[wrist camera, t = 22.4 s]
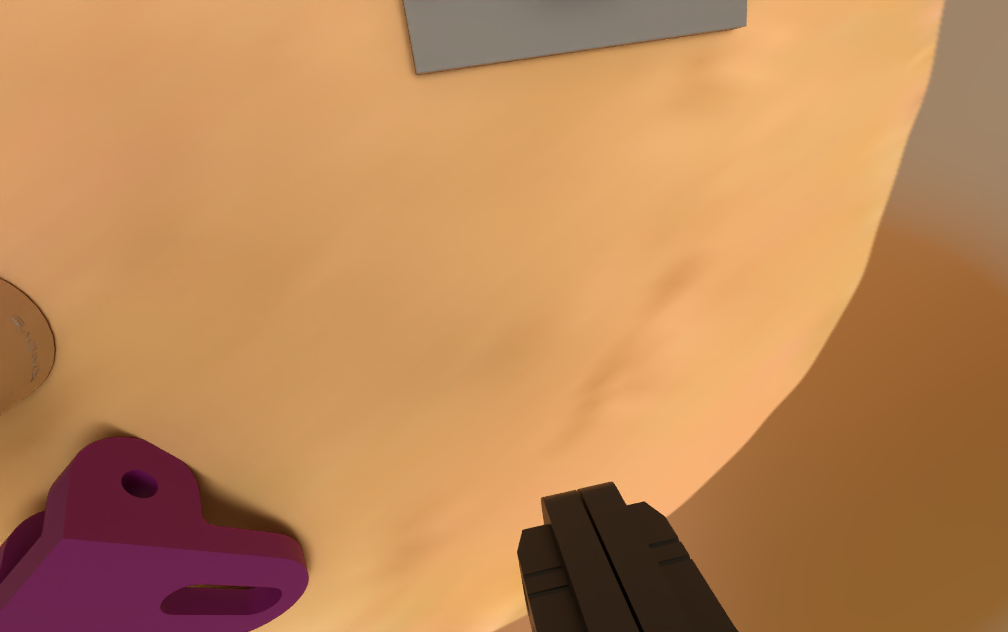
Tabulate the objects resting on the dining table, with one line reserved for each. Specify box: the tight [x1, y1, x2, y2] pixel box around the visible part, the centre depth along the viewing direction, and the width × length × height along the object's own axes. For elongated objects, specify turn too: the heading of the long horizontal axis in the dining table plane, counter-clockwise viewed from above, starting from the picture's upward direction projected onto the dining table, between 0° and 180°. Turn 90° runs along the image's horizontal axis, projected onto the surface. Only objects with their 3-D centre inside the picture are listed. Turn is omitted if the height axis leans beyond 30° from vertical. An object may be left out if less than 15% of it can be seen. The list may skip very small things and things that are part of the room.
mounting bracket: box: [0, 437, 309, 632], centre depth 39 cm, size 10×8×18 cm
